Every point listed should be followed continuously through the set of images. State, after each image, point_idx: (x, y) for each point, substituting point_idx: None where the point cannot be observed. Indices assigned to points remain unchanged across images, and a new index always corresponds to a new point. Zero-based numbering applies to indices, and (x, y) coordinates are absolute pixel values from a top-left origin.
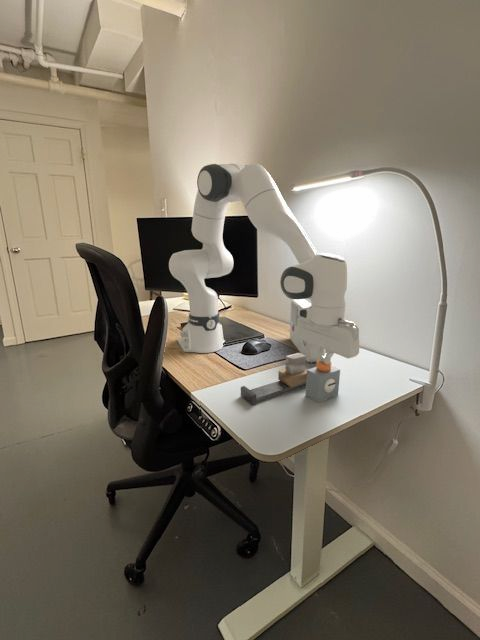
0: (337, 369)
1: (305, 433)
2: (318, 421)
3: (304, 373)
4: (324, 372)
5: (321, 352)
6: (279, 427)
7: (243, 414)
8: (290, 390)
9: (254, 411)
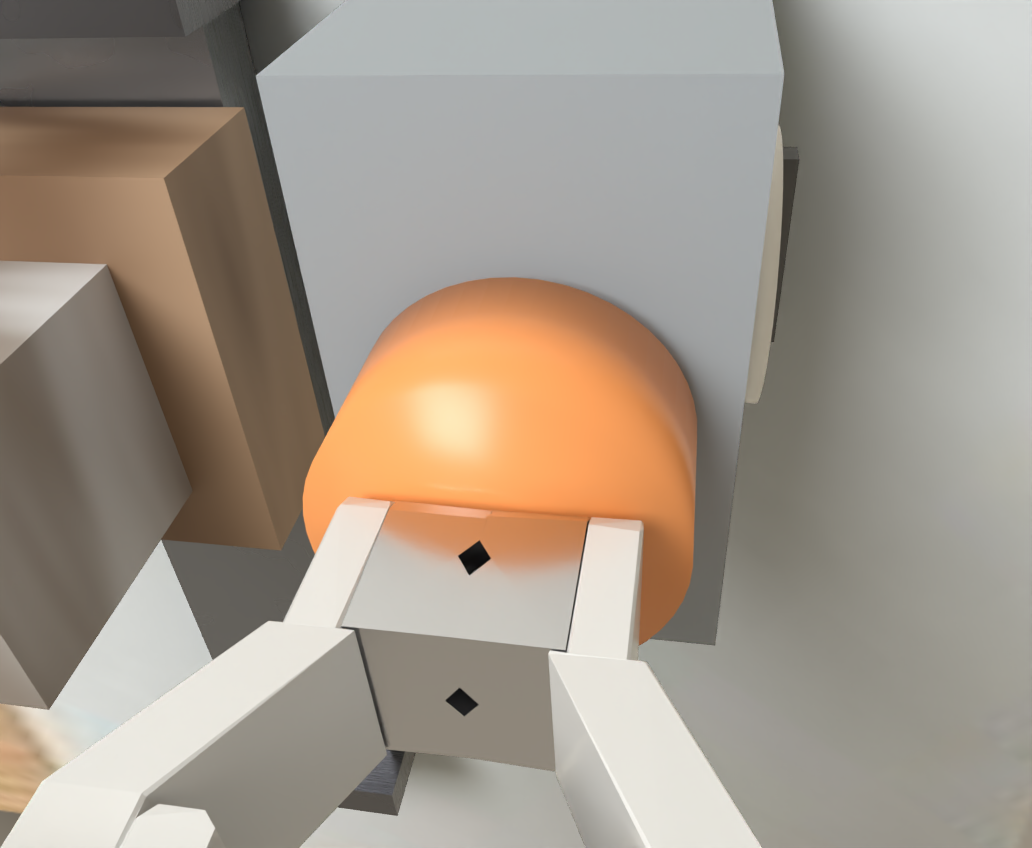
0: (722, 134)
1: (997, 729)
2: (978, 573)
3: (202, 334)
4: None
5: (294, 770)
6: (789, 776)
7: (500, 807)
8: (327, 410)
9: None
